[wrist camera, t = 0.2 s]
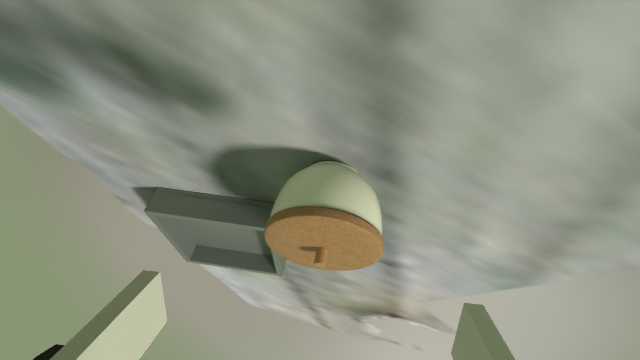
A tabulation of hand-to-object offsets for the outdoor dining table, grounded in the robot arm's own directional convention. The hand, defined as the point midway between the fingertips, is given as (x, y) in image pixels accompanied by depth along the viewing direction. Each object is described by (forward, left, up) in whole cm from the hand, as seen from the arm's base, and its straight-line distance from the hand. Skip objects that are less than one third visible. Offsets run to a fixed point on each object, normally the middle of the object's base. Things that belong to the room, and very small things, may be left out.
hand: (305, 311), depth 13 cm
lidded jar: (+11, 0, -16) cm, 20 cm away
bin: (+25, -14, -16) cm, 33 cm away
